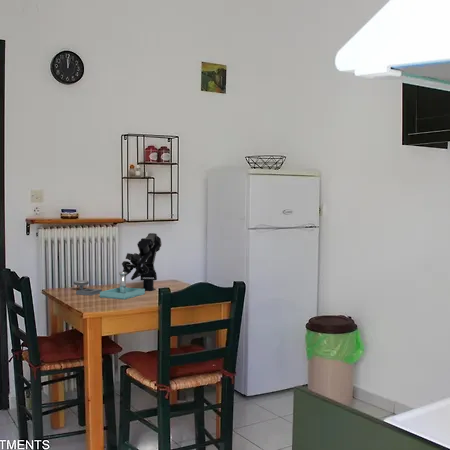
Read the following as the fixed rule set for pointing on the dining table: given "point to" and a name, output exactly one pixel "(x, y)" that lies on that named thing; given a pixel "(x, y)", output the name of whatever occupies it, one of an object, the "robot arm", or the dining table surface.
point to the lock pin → (122, 282)
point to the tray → (117, 295)
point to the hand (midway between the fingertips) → (126, 278)
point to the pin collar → (88, 291)
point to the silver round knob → (81, 283)
